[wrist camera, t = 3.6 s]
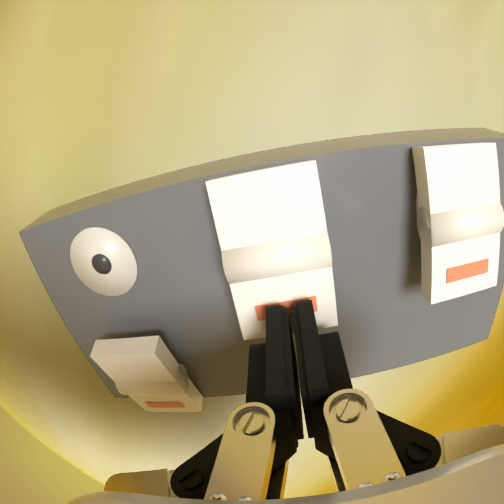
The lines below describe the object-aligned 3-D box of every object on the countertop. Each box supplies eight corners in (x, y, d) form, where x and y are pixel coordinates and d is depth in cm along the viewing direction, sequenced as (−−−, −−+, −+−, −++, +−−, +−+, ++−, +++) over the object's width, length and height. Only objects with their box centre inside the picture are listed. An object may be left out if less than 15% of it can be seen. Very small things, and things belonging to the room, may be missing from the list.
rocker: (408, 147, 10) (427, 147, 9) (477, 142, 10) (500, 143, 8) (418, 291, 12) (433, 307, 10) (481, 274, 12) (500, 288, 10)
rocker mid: (212, 178, 11) (203, 182, 10) (310, 159, 11) (316, 160, 9) (246, 323, 13) (243, 344, 11) (332, 309, 12) (339, 329, 11)
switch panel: (49, 210, 15) (16, 234, 12) (483, 128, 12) (522, 139, 9) (127, 365, 20) (114, 399, 17) (467, 310, 17) (489, 341, 14)
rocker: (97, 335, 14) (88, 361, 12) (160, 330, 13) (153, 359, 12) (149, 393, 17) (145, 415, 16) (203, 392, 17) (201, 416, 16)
